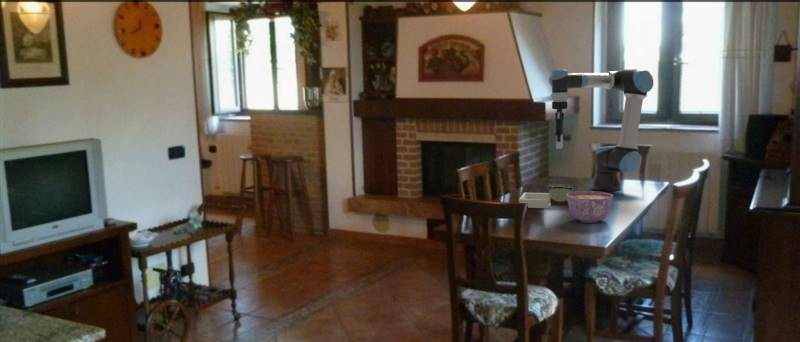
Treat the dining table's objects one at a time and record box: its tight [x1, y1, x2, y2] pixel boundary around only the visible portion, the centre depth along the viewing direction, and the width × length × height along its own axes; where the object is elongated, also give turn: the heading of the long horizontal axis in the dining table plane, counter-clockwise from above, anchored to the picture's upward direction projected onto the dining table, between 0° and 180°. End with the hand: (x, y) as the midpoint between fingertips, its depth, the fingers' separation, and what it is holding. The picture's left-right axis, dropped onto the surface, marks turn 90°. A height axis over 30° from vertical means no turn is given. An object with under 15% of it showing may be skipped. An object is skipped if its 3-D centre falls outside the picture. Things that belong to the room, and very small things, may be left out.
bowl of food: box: [566, 190, 614, 224], centre depth 327 cm, size 20×20×12 cm
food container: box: [547, 183, 574, 208], centre depth 364 cm, size 12×6×10 cm, turn 71°
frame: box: [518, 192, 550, 209], centre depth 368 cm, size 14×18×4 cm
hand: (559, 147), depth 373 cm, fingers open, 5 cm apart
